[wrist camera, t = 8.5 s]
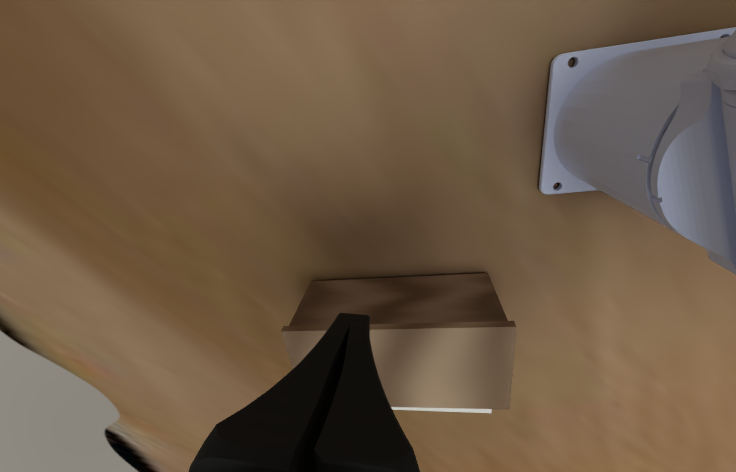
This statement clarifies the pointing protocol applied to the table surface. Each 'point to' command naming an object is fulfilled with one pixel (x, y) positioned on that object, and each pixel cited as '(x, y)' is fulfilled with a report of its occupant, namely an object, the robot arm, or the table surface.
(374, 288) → the cabinet
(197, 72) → the table surface
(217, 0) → the table surface
